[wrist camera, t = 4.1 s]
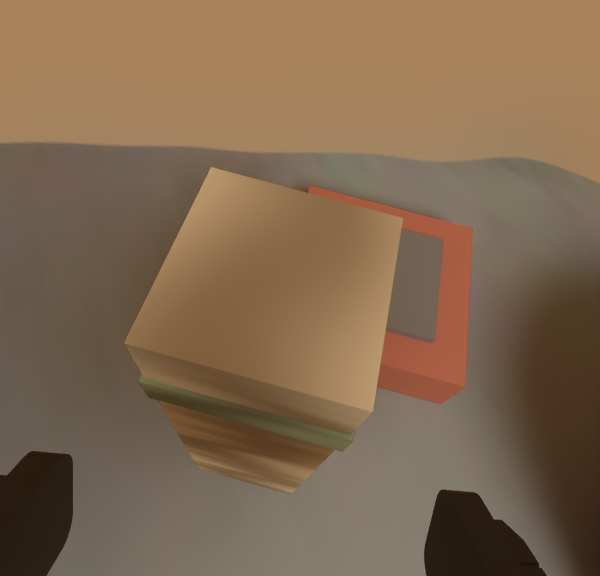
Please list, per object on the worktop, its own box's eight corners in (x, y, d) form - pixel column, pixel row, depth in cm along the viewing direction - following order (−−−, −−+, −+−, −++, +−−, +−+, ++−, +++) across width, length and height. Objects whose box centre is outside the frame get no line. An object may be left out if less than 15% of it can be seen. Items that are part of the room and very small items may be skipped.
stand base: (261, 354, 24) (263, 328, 21) (304, 217, 29) (311, 180, 26) (441, 404, 23) (468, 384, 21) (451, 256, 29) (475, 224, 26)
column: (195, 469, 20) (116, 346, 8) (227, 376, 23) (208, 163, 10) (292, 497, 20) (377, 419, 7) (314, 400, 23) (407, 215, 10)
